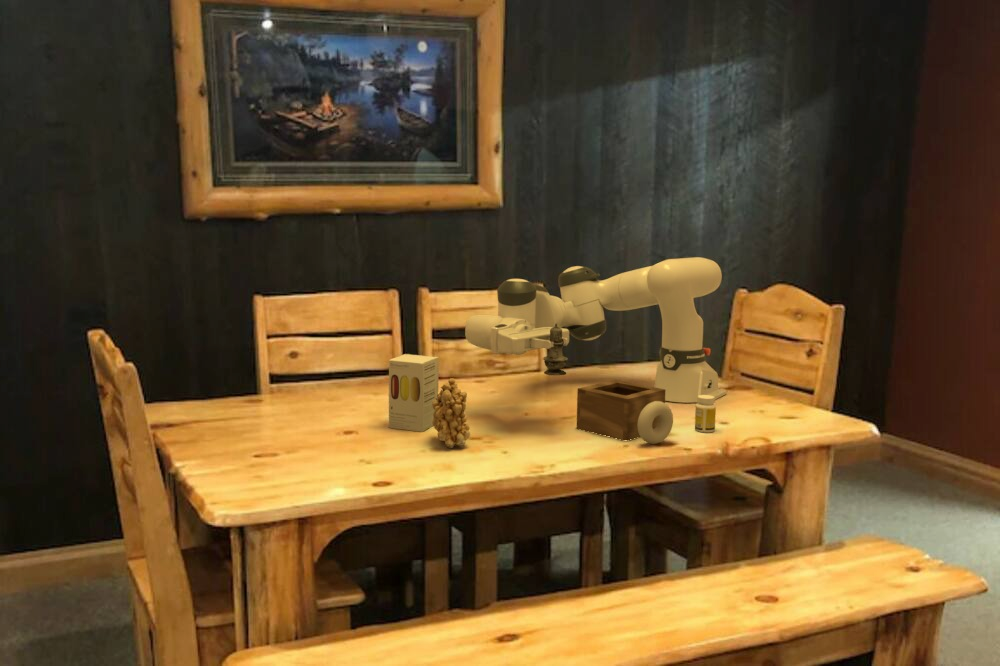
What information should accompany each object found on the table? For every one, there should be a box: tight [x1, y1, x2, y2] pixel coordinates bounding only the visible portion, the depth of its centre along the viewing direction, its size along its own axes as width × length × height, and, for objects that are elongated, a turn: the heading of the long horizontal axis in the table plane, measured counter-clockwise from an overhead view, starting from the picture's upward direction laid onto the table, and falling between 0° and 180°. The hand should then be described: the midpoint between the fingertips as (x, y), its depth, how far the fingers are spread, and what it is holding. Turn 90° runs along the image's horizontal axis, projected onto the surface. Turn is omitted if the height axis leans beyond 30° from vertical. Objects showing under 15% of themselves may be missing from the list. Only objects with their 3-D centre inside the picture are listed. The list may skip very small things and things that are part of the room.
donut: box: [637, 401, 674, 445], centre depth 210 cm, size 10×4×10 cm, turn 125°
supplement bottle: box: [694, 395, 717, 434], centre depth 222 cm, size 5×5×8 cm
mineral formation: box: [432, 377, 471, 449], centre depth 208 cm, size 8×13×15 cm, turn 21°
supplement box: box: [388, 353, 440, 433], centre depth 223 cm, size 10×9×17 cm
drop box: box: [576, 379, 666, 441], centre depth 222 cm, size 15×15×10 cm
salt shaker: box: [542, 323, 569, 377], centre depth 216 cm, size 6×6×12 cm
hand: (558, 343), depth 216 cm, fingers closed on salt shaker, 4 cm apart
